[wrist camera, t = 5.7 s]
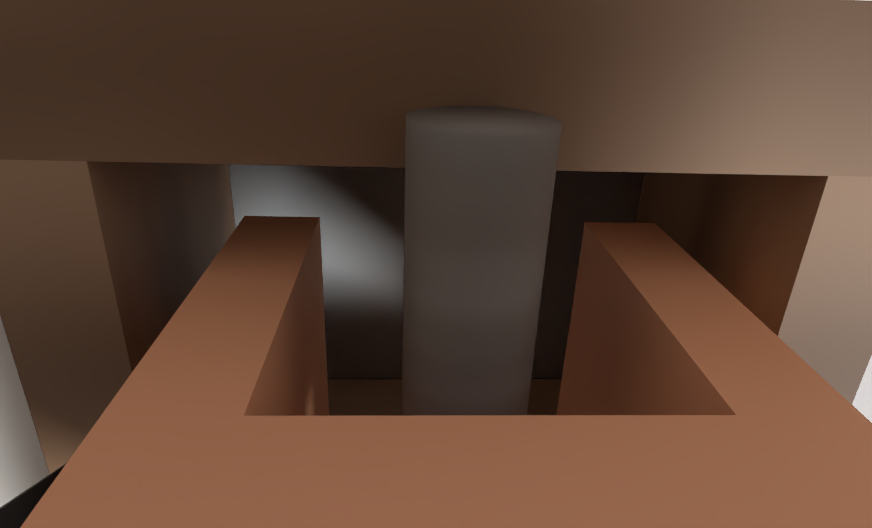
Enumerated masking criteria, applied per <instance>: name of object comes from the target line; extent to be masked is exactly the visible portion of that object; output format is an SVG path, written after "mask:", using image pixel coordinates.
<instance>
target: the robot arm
mask: <svg viewBox="0 0 872 528" xmlns="http://www.w3.org/2000/svg"><path fill="white" fill-rule="evenodd" d="M65 465H66V464H64V465H63V466H61V467H60V468H58V469H57V470H55V471H54V472H52V473H51V474H49V475H48V476H46V477H45V478H43V479H42V480H40V481H39V482H37V483H36V484H35V485H33V486H32V487H30V488H29V489H27V490H26V491H24V492H23V493H21V494H20V495H18V496H17V497H15V498H14V499H12V500H11V501H9V502H8V503H6V504H5V505H3V506H2V507H0V528H20V527H21V526H22V524H23V523H24V522H25V520H26V519H27V518H28V516H29V515H30V513H31V512H32V511H33V509H34V508H35V506H36V505H37V504H38V502H39V501H40V499H41V498H42V497H43V495H44V494H45V493H46V491H47V490H48V488H49V487H50V486H51V484H52V483H53V481H54V480H55V479H56V477H57V476H58V475H59V473H60V472H61V470H62V469H63V468H64V466H65Z"/></svg>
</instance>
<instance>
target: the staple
mask: <svg viewBox="0 0 872 528" xmlns="http://www.w3.org/2000/svg"><path fill="white" fill-rule="evenodd" d="M20 528H872V423H871V422H870V421H869V420H868V419H867V418H866V417H864V416H863V415H862V414H861V413H860V412H859V411H858V410H857V409H856V408H855V407H854V406H853V405H851V404H850V403H849V402H848V401H847V400H846V399H845V398H844V397H843V396H842V395H841V394H840V393H838V392H837V391H836V390H835V389H834V388H833V387H832V386H831V385H830V384H829V383H828V382H827V381H825V380H824V379H823V378H822V377H821V376H820V375H819V374H818V373H817V372H816V371H815V370H814V369H812V368H811V367H810V366H809V365H808V364H807V363H806V362H805V361H804V360H803V359H802V358H801V357H799V356H798V355H797V354H796V353H795V352H794V351H793V350H792V349H791V348H790V347H789V346H788V345H786V344H785V343H784V342H783V341H782V340H781V339H780V338H779V337H778V336H777V335H776V334H775V333H773V332H772V331H771V330H770V329H769V328H768V327H767V326H766V325H765V324H764V323H763V322H762V321H760V320H759V319H758V318H757V317H756V316H755V315H754V314H753V313H752V312H751V311H750V310H749V309H747V308H746V307H745V306H744V305H743V304H742V303H741V302H740V301H739V300H738V299H737V298H736V297H734V296H733V295H732V294H731V293H730V292H729V291H728V290H727V289H726V288H725V287H724V286H723V285H721V284H720V283H719V282H718V281H717V280H716V279H715V278H714V277H713V276H712V275H711V274H710V273H708V272H707V271H706V270H705V269H704V268H703V267H702V266H701V265H700V264H699V263H698V262H697V261H695V260H694V259H693V258H692V257H691V256H690V255H689V254H688V253H687V252H686V251H685V250H684V249H682V248H681V247H680V246H679V245H678V244H677V243H676V242H675V241H674V240H673V239H672V238H671V237H669V236H668V235H667V234H666V233H665V232H664V231H663V230H662V229H661V228H660V227H659V226H658V225H656V224H655V223H612V222H585V226H584V232H583V239H582V246H581V253H580V259H579V266H578V273H577V280H576V286H575V293H574V300H573V306H572V313H571V320H570V327H569V333H568V340H567V347H566V354H565V360H564V367H563V374H562V380H561V387H560V394H559V401H558V407H557V414H556V415H418V416H329V401H328V381H327V360H326V339H325V318H324V297H323V276H322V256H321V235H320V217H272V216H245V217H244V218H243V219H242V221H241V222H240V223H239V225H238V226H237V228H236V229H235V230H234V232H233V233H232V235H231V236H230V237H229V239H228V240H227V241H226V243H225V244H224V246H223V247H222V248H221V250H220V251H219V253H218V254H217V255H216V257H215V258H214V260H213V261H212V262H211V264H210V265H209V266H208V268H207V269H206V271H205V272H204V273H203V275H202V276H201V278H200V279H199V280H198V282H197V283H196V284H195V286H194V287H193V289H192V290H191V291H190V293H189V294H188V296H187V297H186V298H185V300H184V301H183V303H182V304H181V305H180V307H179V308H178V309H177V311H176V312H175V314H174V315H173V316H172V318H171V319H170V321H169V322H168V323H167V325H166V326H165V327H164V329H163V330H162V332H161V333H160V334H159V336H158V337H157V339H156V340H155V341H154V343H153V344H152V346H151V347H150V348H149V350H148V351H147V352H146V354H145V355H144V357H143V358H142V359H141V361H140V362H139V364H138V365H137V366H136V368H135V369H134V370H133V372H132V373H131V375H130V376H129V377H128V379H127V380H126V382H125V383H124V384H123V386H122V387H121V389H120V390H119V391H118V393H117V394H116V395H115V397H114V398H113V400H112V401H111V402H110V404H109V405H108V407H107V408H106V409H105V411H104V412H103V413H102V415H101V416H100V418H99V419H98V420H97V422H96V423H95V425H94V426H93V427H92V429H91V430H90V432H89V433H88V434H87V436H86V437H85V438H84V440H83V441H82V443H81V444H80V445H79V447H78V448H77V450H76V451H75V452H74V454H73V455H72V456H71V458H70V459H69V461H68V462H67V463H66V465H65V466H64V468H63V469H62V470H61V472H60V473H59V475H58V476H57V477H56V479H55V480H54V481H53V483H52V484H51V486H50V487H49V488H48V490H47V491H46V493H45V494H44V495H43V497H42V498H41V499H40V501H39V502H38V504H37V505H36V506H35V508H34V509H33V511H32V512H31V513H30V515H29V516H28V518H27V519H26V520H25V522H24V523H23V524H22V526H21V527H20Z"/></svg>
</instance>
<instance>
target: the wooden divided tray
mask: <svg viewBox="0 0 872 528" xmlns="http://www.w3.org/2000/svg"><path fill="white" fill-rule="evenodd" d="M228 164H249V165H299V166H349V167H400V168H405V218H404V298H403V379H327V381H328V401H329V416H418V415H556V414H557V407H558V401H559V394H560V387H561V380H562V379H531V376H532V367H533V359H534V351H535V342H536V334H537V326H538V318H539V309H540V301H541V293H542V285H543V276H544V268H545V260H546V251H547V243H548V235H549V227H550V218H551V210H552V202H553V194H554V185H555V177H556V171H601V172H645V175H644V180H643V186H642V191H641V197H640V202H639V208H638V213H637V218H636V223H655V224H656V225H658V226H659V227H660V228H661V229H662V230H663V231H664V232H665V233H666V234H667V235H668V236H669V237H671V238H672V239H673V240H674V241H675V242H676V243H677V244H678V245H679V246H680V247H681V248H682V249H684V250H685V251H686V252H687V253H688V254H689V255H690V256H691V257H692V258H693V259H694V260H695V261H697V262H698V263H699V264H700V265H701V266H702V267H703V268H704V269H705V270H706V271H707V272H708V273H710V274H711V275H712V276H713V277H714V278H715V279H716V280H717V281H718V282H719V283H720V284H721V285H723V286H724V287H725V288H726V289H727V290H728V291H729V292H730V293H731V294H732V295H733V296H734V297H736V298H737V299H738V300H739V301H740V302H741V303H742V304H743V305H744V306H745V307H746V308H747V309H749V310H750V311H751V312H752V313H753V314H754V315H755V316H756V317H757V318H758V319H759V320H760V321H762V322H763V323H764V324H765V325H766V326H767V327H768V328H769V329H770V330H771V331H772V332H773V333H775V334H776V335H777V336H778V337H779V338H780V339H781V340H782V341H783V342H784V343H785V344H786V345H788V346H789V347H790V348H791V349H792V350H793V351H794V352H795V353H796V354H797V355H798V356H799V357H801V358H802V359H803V360H804V361H805V362H806V363H807V364H808V365H809V366H810V367H811V368H812V369H814V370H815V371H816V372H817V373H818V374H819V375H820V376H821V377H822V378H823V379H824V380H825V381H827V382H828V383H829V384H830V385H831V386H832V387H833V388H834V389H835V390H836V391H837V392H838V393H840V394H841V395H842V396H843V397H844V398H845V399H846V400H847V401H848V402H849V403H850V404H851V405H852V402H853V400H854V397H855V395H856V392H857V390H858V387H859V385H860V382H861V380H862V377H863V375H864V372H865V370H866V367H867V365H868V362H869V360H870V357H871V355H872V1H857V0H0V316H1V319H2V322H3V325H4V329H5V332H6V335H7V338H8V342H9V345H10V348H11V351H12V354H13V358H14V361H15V364H16V367H17V371H18V374H19V377H20V380H21V383H22V387H23V390H24V393H25V396H26V400H27V403H28V406H29V409H30V412H31V416H32V419H33V422H34V425H35V429H36V432H37V435H38V438H39V441H40V445H41V448H42V451H43V454H44V458H45V461H46V464H47V467H48V471H49V474H51V473H52V472H54V471H55V470H57V469H58V468H60V467H61V466H63V465H64V464H66V463H67V462H68V461H69V459H70V458H71V456H72V455H73V454H74V452H75V451H76V450H77V448H78V447H79V445H80V444H81V443H82V441H83V440H84V438H85V437H86V436H87V434H88V433H89V432H90V430H91V429H92V427H93V426H94V425H95V423H96V422H97V420H98V419H99V418H100V416H101V415H102V413H103V412H104V411H105V409H106V408H107V407H108V405H109V404H110V402H111V401H112V400H113V398H114V397H115V395H116V394H117V393H118V391H119V390H120V389H121V387H122V386H123V384H124V383H125V382H126V380H127V379H128V377H129V376H130V375H131V373H132V372H133V370H134V369H135V368H136V366H137V365H138V364H139V362H140V361H141V359H142V358H143V357H144V355H145V354H146V352H147V351H148V350H149V348H150V347H151V346H152V344H153V343H154V341H155V340H156V339H157V337H158V336H159V334H160V333H161V332H162V330H163V329H164V327H165V326H166V325H167V323H168V322H169V321H170V319H171V318H172V316H173V315H174V314H175V312H176V311H177V309H178V308H179V307H180V305H181V304H182V303H183V301H184V300H185V298H186V297H187V296H188V294H189V293H190V291H191V290H192V289H193V287H194V286H195V284H196V283H197V282H198V280H199V279H200V278H201V276H202V275H203V273H204V272H205V271H206V269H207V268H208V266H209V265H210V264H211V262H212V261H213V260H214V258H215V257H216V255H217V254H218V253H219V251H220V250H221V248H222V247H223V246H224V244H225V243H226V241H227V240H228V239H229V237H230V236H231V235H232V233H233V232H234V230H235V229H236V228H235V219H234V211H233V202H232V193H231V184H230V175H229V167H228Z"/></svg>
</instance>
